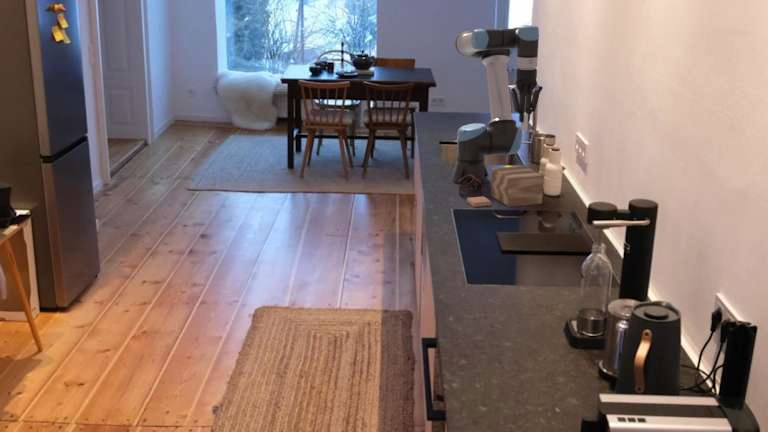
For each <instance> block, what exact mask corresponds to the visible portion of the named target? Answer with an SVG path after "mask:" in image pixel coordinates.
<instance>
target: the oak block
mask: <svg viewBox="0 0 768 432" xmlns="http://www.w3.org/2000/svg"><path fill="white" fill-rule="evenodd" d="M543 189H544V175H543V174H542V173H540V172H538V171H536V170H534V169H532V168H530V167H528V166H526V165H524V164H522V165H515V166H503V167H493V168H491V188H490V195H491V197H493V198H494V199H496V200H497V201H499V202H500V201H501V203H502V204H503V203H504V205H505V204H506V205H505V206H507V207H508V206H512V207H518V205H519V206H520V205H521V206H528V205H540V204H542V203H543ZM521 206H520V207H521Z"/></svg>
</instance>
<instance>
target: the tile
mask: <svg viewBox="0 0 768 432" xmlns="http://www.w3.org/2000/svg"><path fill="white" fill-rule="evenodd" d="M466 203H467V204H470V206H472V207H473V208H477V207H486V206H487V205H488V206H492V201H491V200H490V199H489V198H487V197H485V196H484V195H483V196H476V197H475V196H474V197H473V196H472V197H466Z"/></svg>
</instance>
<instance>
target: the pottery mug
mask: <svg viewBox="0 0 768 432" xmlns="http://www.w3.org/2000/svg"><path fill="white" fill-rule="evenodd" d="M466 179H467V183H468V184H462V182H464V181H465V180H466ZM457 186H458V193H459V194H460V193H461V192H467V191H473V189H474V188H476V191H481V194H482V195H483V194H484V193H485V192H484V187H483V184H482V183H481V182H480V180H479V179H477V178H475V177H474V176H473V175H467V176H465V177H463V178H462V179H461V180H460V181H459V183H457Z"/></svg>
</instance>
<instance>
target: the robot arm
mask: <svg viewBox="0 0 768 432" xmlns="http://www.w3.org/2000/svg"><path fill="white" fill-rule="evenodd" d="M539 30H540V29H539V26H538V25H532V24H528V25H527V24H525V25H520V26H519V27H512V28H481V29H480V28H479V29H471V30H466V31H463V32H461V33H459V35H457V37H456V38H455V41H454V46H455V49H456V51H457V52H458V54H460V55H461V56H464V57H466V58H471V59H481V63H482V64H483V65H484V66H485V70H486V78H487V91H488V100H489V109H490V118H491V119H490V121H489V122H488V124H487V125H488V127H487V125H486V124H485V123H481V122H480V123H468V124H465V125H462V126H461V127H459V128H458V130H457V137H456V141H457V142H456V147H457V148H456V164H455V167H454V170H453V172H452V178H451V179H452V181H453V182H454V183H456V184H459V181H460V180H461V179H462V178H463V177H465V176H467V175H473V176H474V177H475V178H477V179H479V180H480V182H481V183H482V185H483V184H487V183H488V182H489V180H490V179H489V178H490V175H489V171H488V168H487V165H486V156H502V155H503V156H505V155H506V156H509V155H516V154H517V153H519V151H520V149H521V146H522V142H523V132H528V126H529V125H528V123H529V122H531V121H530V120H531V114H533V113H534V112H535V111H536V109H537V105H538V101H539V97H540V94H541V92H542V90H543V86H542V85H539V84H538V81H537V78H538V77H537V75H538V70H537V67H538V59H539V58H538V57H539V56H538V54H539V38H540V34H539V33H540V31H539ZM515 49H517V51H516V53H517V55H516V68H517V69H516V73H515V74H516V75H515V76H516V77H515V78H516V80H515V83H514V85H513V86H509V75H508V68H507V64H508V62H510V58H511V57H512V56H513V53H514V50H515ZM517 91H518V92H517ZM510 93H511V95H510ZM518 94H519V95H518ZM510 96H511V97H510ZM511 99H512V103H513V108H514V112H516V113H518V115H519V116H518V122H519V123H520V126H519V125H517V121H516V119H514V118H513V115H512V108H511V107H512V106H511ZM466 184H468V183H467V179H466V180H465V181H464V182H462V184H461V185H466Z"/></svg>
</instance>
